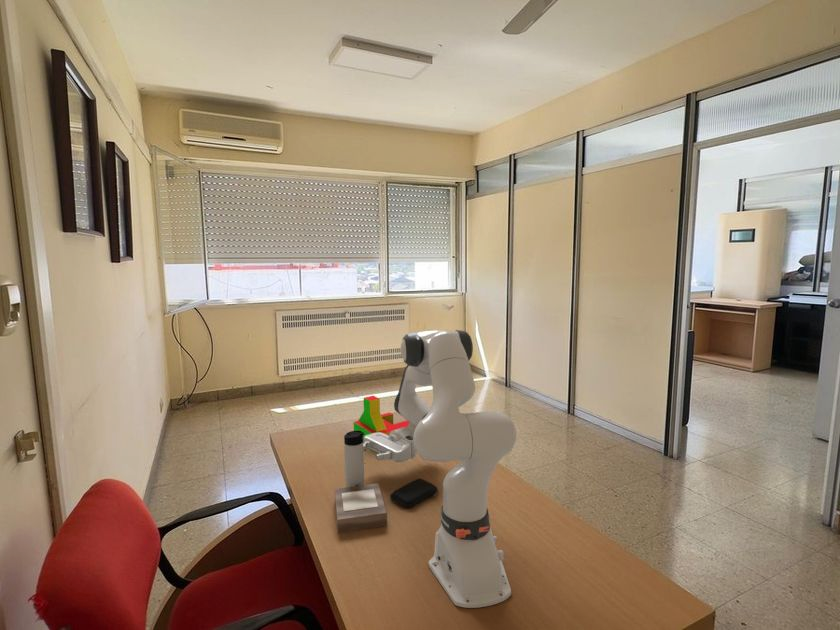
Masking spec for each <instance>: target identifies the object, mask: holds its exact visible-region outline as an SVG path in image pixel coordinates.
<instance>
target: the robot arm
mask: <svg viewBox="0 0 840 630" xmlns="http://www.w3.org/2000/svg"><path fill="white" fill-rule="evenodd" d="M473 351H474V344H473V340H472V337H471V336H470V334H469V333H468V332H467V331H466V330H465V331H464V330H459V329H456V330H447V329H446V330H445V329H441V330H439V329H438V330H437V329H432V330H431V329H430V330H422V331H418V332H416V331H412V332H408V333H406V334H405V335H404V336H403V337H402V341H401V344H400V355H401V357H402V359H403V362H404V363H405V364H406V366H405V368H404V371H403V373H402V378H401V380H400V385H399V389H398V392H397V394H396V397H395V398H394V402H393V407H394V408H393V409H394V410H395V412H396V413H398V414H399V415H400V416H401V417H403V418H404V419H405V421H408V422H409V425H408V427H402V428H399V429H396V430H394V431H391V432H390V434H389V436H388V435H386V434H384V433H381V432H377V433H372V434H369V435H366V436H365V437H364V442H363V452H366V451H367V449H370V450H372V451H374V452H376V453H377V454H375V457H376V458H375V459H376V460H378V461H379V462H380V461H383V460H391V461H394V462H395V463H403V462H406V461H408V460H410V459H414V458H415V457H416V454H418V456H419V457H420V458H421V459H422V460H423V461H428V462H436V463H437V462H438V463H447V462H456V461H460V462H459V463H458V464H457V465H456V466H454V467H453V468H452V469H450V470H449V471H448V472H447V474H446V475H445V477H444V479H443V481H442V505H441V510H440V523H441V525H440V526H439V529H438V530H436V533H435V536H434V537H435V538H434V541H435V542H434V555H433V557H432V558H430V559H429V561H428V568H429V569H430V571H431V572H432V574H433V575H434V576H435V578H436V580H438V582H439V584H440V585H441V587H442V588H443V589H444V592H446V595H447V596H448V597H449V598H450V600H451V601H452V603H453V604H454V605H455V606H457V607H460V608H466V609H467V608H468V609H473V608H474V609H477V608H483V607H490V606H493V605H496V604H500V603H502V602H504V601H506V600H507V599H509V598H510V596H511V595H512V588H511V585H510V582H509V579H508V576H507V572H506V570H505V567H504V564H503V561H504V560H505V554H504V551H503V550H502V549H498V548H497V547H496V543H497V542H498V541H497V540H498V538H497V535H493V531H492V525H491V523H490V522H491V521H490V514H489V509H488V506H487V505H488V494H489V493H488V491H489V484H490V480H491V477H492V475H493V473H494V470H495V469H496V467H497V466H498V464H499V462H501V460H502V459H503V458H504V457H505V456H506V455H507V454H508V453H510V452H511V451H512V450H513V448H514V446H515V445H516V442H517V429H516V425H515V424H514V422H513V420H512V419H511V417H509V415H507V414H506V413H504V412H503V413H501V412H495V411H480V412H469V413H463V412H460V409H459V408H460V407H462V406H463V405H465V404H467V403H468V402H469V401H470V400H471V399H472V398H473V397H474V395H475V393H476V392H475V391H476V383H475V380H474V376H473V372H472V369H471V365H470V360H471V359H472V358H473V357H472V356H473ZM417 385H418V386H422V387H427V386H432V391H433V392H432V394H433V395H432V403H431V406H430V405H429V404H428V403H427V402H426V401H425V400H423V399H422V397H420V396H419V394H418V393H417V392H416V387H417ZM416 452H417V453H416Z"/></svg>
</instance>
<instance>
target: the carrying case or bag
mask: <svg viewBox="0 0 840 630" xmlns="http://www.w3.org/2000/svg"><path fill="white" fill-rule="evenodd" d="M438 493H439V490H438V486H436V485H435V484H433V483H431V482H429V481H427V480H425V479H423V478H420V477H419V478H416V479H414V480H413V481H412V480H411V482H408V483H405V485H403V486H401V487H398V488H397V489H395V490H394V491H392V492H391V493H390V495H389V496H390V500H391V501H393V502H394V503H396V504H398V505H400V506H401V507H403V508H404V509H408V510H409V509H411V508H414V507H416V506H417V505H419V504H421V503H423V502H425V501H426V500H428V499H430V498H435V496H436V495H438Z"/></svg>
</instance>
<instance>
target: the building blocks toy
mask: <svg viewBox="0 0 840 630" xmlns="http://www.w3.org/2000/svg"><path fill="white" fill-rule="evenodd" d="M380 406H381V405H380V398H379V397H377V396H375V395H369V396H365V397H363V411H362V414H361V415H360V417H359V419H358V420H355V421H353V431H357V430H358V431H362V432H364V435H363V443H364V437H365V436H366V435H369V434H372V433H377V432H381V433H384V434H386V435H388V436H389V434H390V432H391V431H394V430H396V429H399V428H402V427H408V425H409V422H408V421H407V420H403V421H400V422H397V423H394V413H392V412H386V413H383V414H381V412H380V411H381V410H380V409H381V408H380Z"/></svg>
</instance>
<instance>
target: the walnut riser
mask: <svg viewBox="0 0 840 630" xmlns="http://www.w3.org/2000/svg"><path fill="white" fill-rule="evenodd" d="M334 502H335V513H336V524H337V525H336V527H337V533H338V534H339V533H345V532H353V531H358V530H366V529H367V530H368V529H372V528H373V529H374V528H380V527H386V526H388V521H387V520H388V519H387V517H388V516H387V510H386V509H387V508H386V506H385V503H384V499H383V495H382V492H381V488H380V485H379V483H372V484H364V485H362V486H354V487H346V486H345V487H340V488H339V487H338V488H335V489H334Z"/></svg>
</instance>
